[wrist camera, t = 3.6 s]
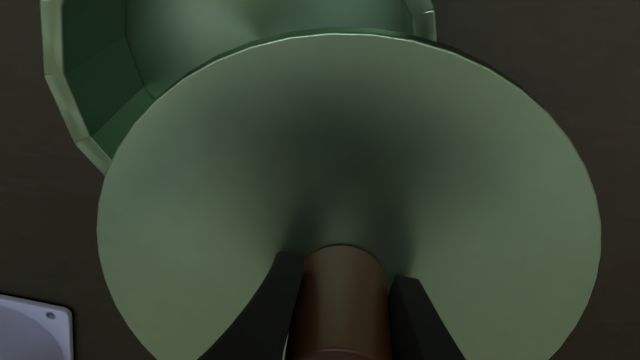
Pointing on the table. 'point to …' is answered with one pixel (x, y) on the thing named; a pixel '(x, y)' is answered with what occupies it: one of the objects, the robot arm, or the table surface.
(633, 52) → the table surface
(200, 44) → the pot
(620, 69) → the table surface
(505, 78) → the lid
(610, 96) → the table surface
